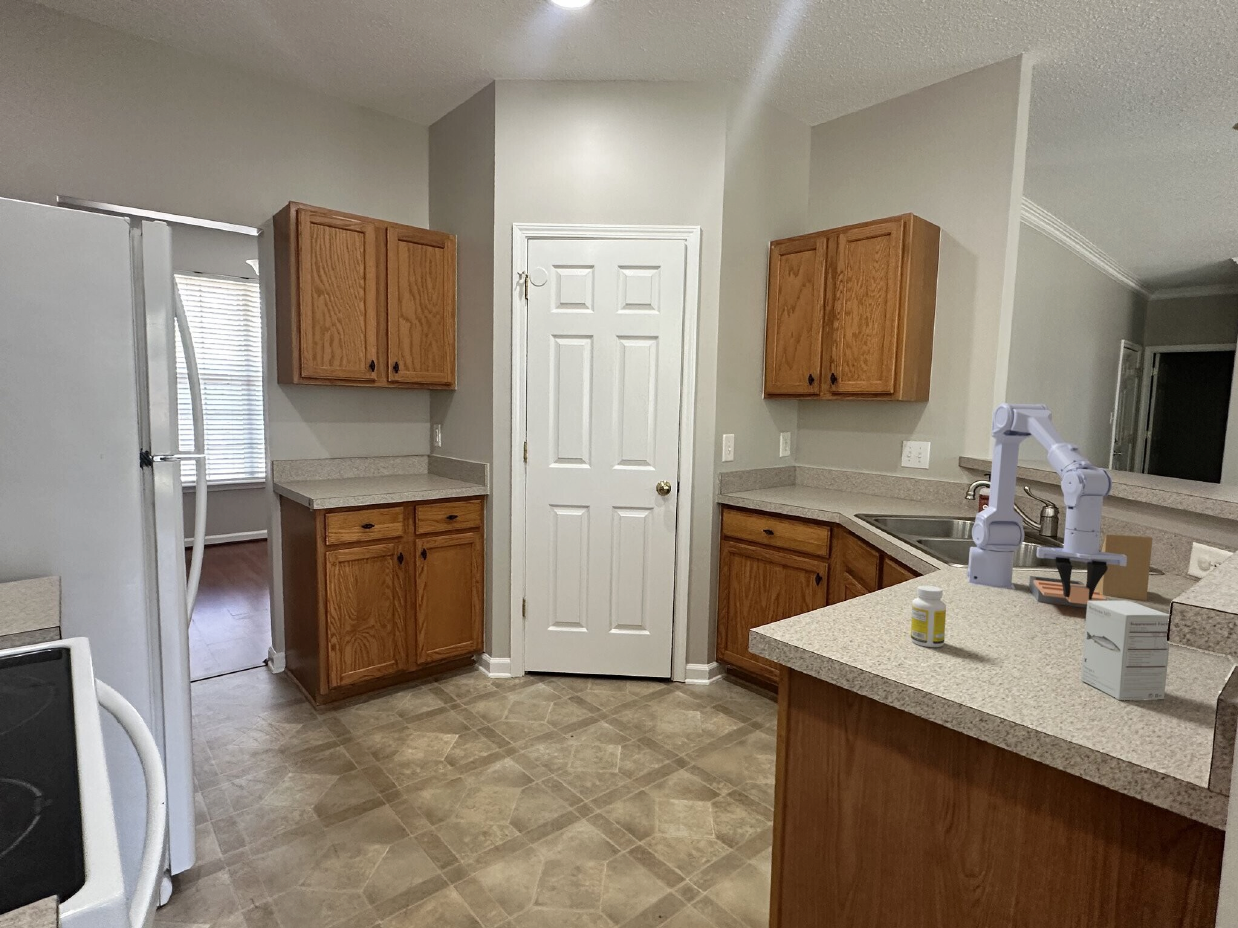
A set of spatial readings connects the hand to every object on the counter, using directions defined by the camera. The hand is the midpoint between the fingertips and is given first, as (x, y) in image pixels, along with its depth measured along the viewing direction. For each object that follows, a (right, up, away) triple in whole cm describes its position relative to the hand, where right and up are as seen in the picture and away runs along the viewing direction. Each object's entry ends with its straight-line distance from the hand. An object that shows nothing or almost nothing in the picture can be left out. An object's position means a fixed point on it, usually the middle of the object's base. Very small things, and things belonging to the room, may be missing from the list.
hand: (1077, 597), depth 132 cm
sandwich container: (+26, -4, +24) cm, 36 cm away
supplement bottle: (-37, -5, -15) cm, 40 cm away
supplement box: (-17, -7, -34) cm, 38 cm away
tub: (+7, -4, +16) cm, 18 cm away
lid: (+3, -1, +6) cm, 7 cm away
